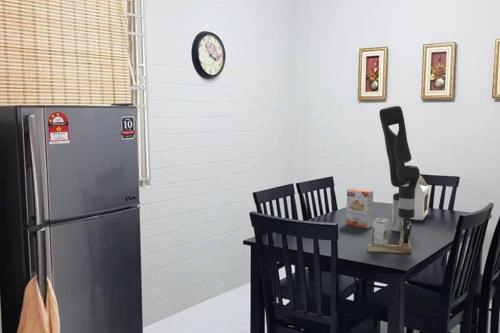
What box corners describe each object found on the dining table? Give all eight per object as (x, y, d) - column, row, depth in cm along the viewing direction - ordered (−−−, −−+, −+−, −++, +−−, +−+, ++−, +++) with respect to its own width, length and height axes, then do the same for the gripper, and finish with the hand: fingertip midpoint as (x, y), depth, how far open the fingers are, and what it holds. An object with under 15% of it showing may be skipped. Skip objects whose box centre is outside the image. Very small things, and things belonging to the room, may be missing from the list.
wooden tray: (365, 242, 253) (365, 226, 252) (406, 243, 250) (406, 228, 249) (368, 251, 237) (369, 234, 236) (412, 253, 235) (413, 236, 234)
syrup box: (376, 246, 246) (377, 217, 244) (388, 248, 242) (389, 219, 241) (371, 249, 242) (372, 219, 240) (383, 251, 238) (384, 221, 236)
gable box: (406, 211, 329) (408, 169, 326) (427, 213, 323) (429, 170, 320) (400, 218, 309) (401, 173, 306) (422, 220, 303) (424, 174, 300)
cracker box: (345, 224, 291) (346, 189, 288) (351, 223, 295) (352, 188, 293) (366, 229, 281) (367, 192, 279) (372, 227, 285) (373, 190, 283)
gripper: (396, 204, 248) (394, 238, 250) (401, 209, 234) (399, 246, 236) (411, 204, 247) (410, 238, 249) (417, 210, 233) (416, 246, 235)
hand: (405, 242), depth 242 cm, fingers closed on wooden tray, 3 cm apart
